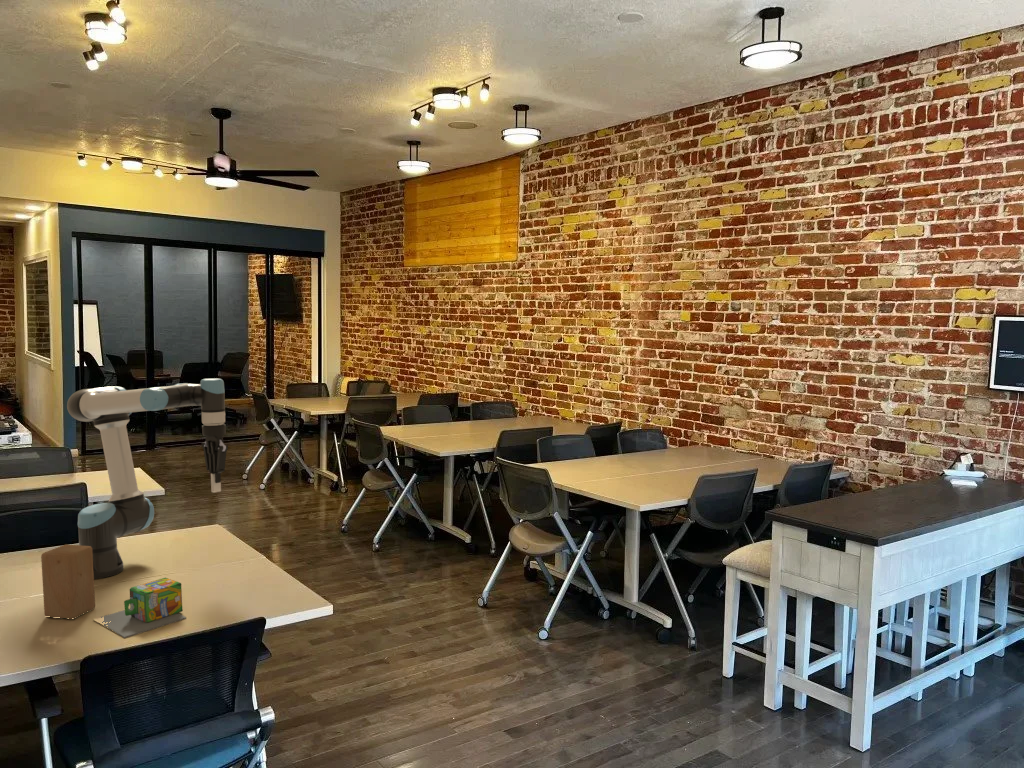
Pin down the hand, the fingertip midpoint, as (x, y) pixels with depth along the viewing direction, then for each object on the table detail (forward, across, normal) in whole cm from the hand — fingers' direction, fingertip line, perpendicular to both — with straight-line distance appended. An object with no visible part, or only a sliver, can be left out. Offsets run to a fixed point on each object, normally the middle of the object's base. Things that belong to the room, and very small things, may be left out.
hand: (216, 491), depth 264 cm
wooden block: (+30, +3, +47) cm, 56 cm away
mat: (+29, -18, +36) cm, 50 cm away
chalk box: (+24, -19, +25) cm, 40 cm away
